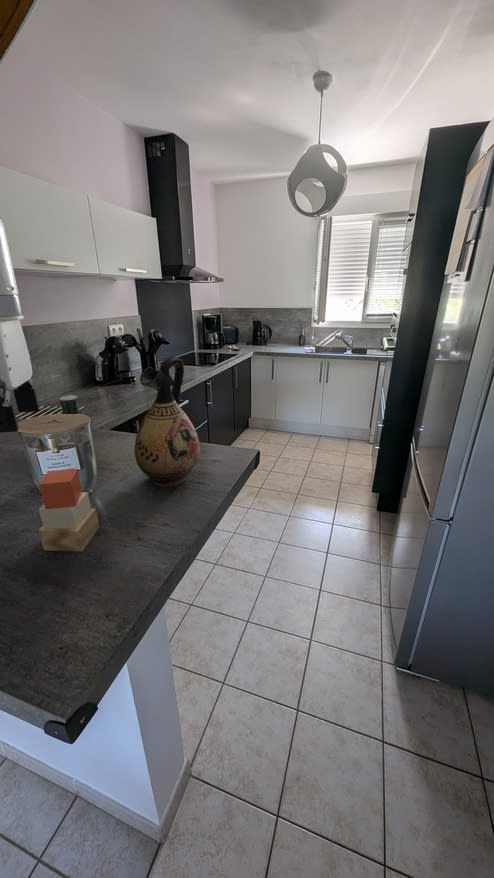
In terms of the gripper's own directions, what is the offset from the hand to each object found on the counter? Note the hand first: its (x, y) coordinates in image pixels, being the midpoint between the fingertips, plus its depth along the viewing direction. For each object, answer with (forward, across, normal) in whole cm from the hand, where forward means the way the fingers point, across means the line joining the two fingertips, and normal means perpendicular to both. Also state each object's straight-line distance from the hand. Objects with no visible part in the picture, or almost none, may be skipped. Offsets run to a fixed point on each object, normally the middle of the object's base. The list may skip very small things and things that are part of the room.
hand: (18, 420), depth 58 cm
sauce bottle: (+24, -30, 0) cm, 39 cm away
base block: (+24, 0, +4) cm, 24 cm away
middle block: (+20, 0, +4) cm, 20 cm away
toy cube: (+16, 0, +4) cm, 16 cm away
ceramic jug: (+24, -21, +24) cm, 39 cm away
